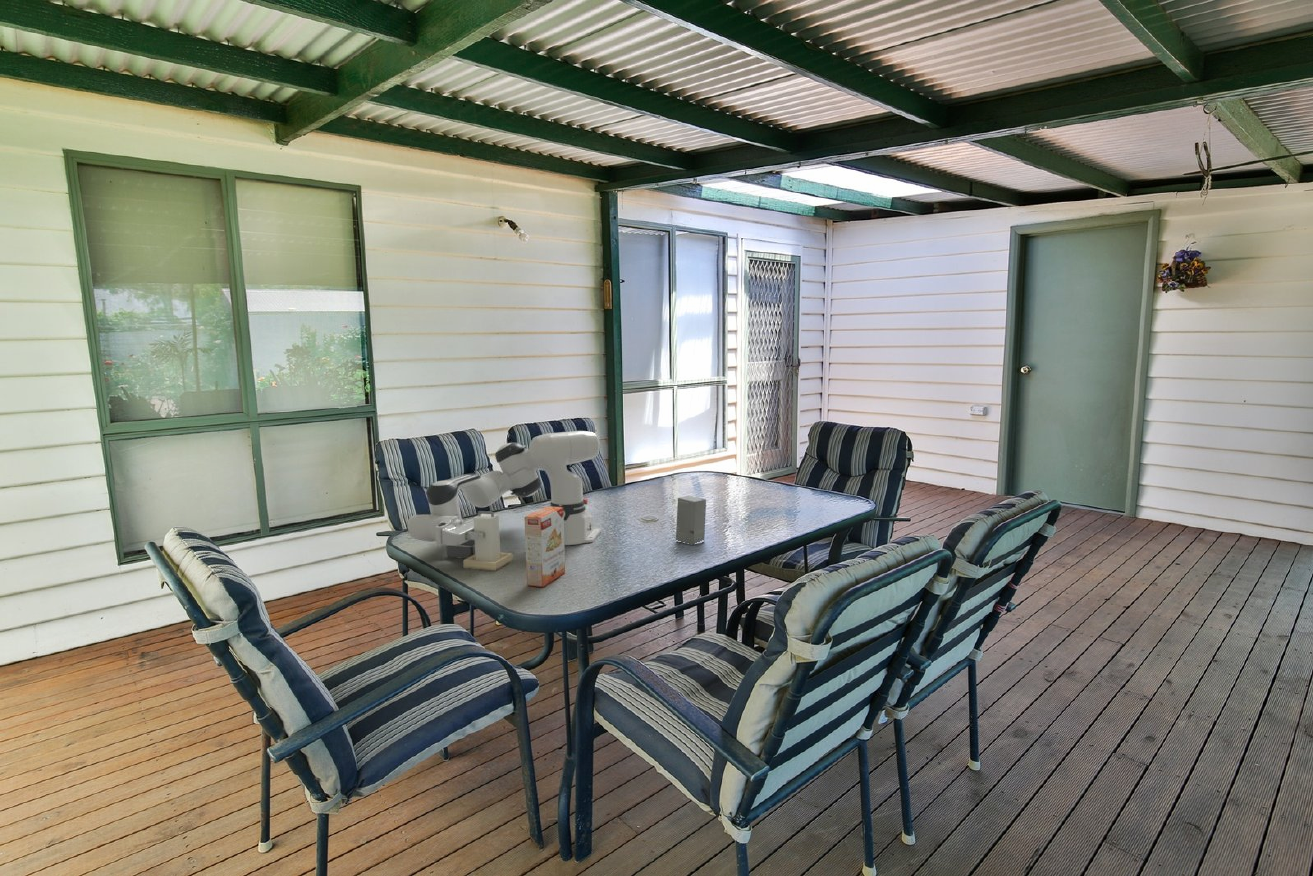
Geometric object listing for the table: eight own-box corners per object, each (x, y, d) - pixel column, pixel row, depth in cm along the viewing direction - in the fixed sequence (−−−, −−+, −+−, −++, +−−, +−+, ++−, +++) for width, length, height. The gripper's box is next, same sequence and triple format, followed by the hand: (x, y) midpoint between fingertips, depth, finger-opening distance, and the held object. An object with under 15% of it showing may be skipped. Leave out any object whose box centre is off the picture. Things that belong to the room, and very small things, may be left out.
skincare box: (675, 542, 248) (674, 497, 246) (688, 537, 253) (688, 494, 251) (694, 546, 242) (693, 501, 240) (707, 541, 248) (706, 497, 245)
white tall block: (484, 558, 230) (481, 509, 228) (500, 560, 229) (498, 510, 226) (475, 563, 226) (473, 512, 223) (492, 564, 224) (489, 514, 222)
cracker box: (544, 588, 204) (541, 517, 201) (526, 586, 206) (522, 516, 203) (566, 573, 217) (564, 506, 214) (549, 571, 219) (546, 505, 216)
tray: (482, 558, 234) (481, 550, 234) (513, 560, 230) (512, 553, 230) (463, 568, 224) (463, 560, 224) (495, 571, 220) (495, 563, 220)
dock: (462, 549, 245) (462, 538, 244) (488, 551, 241) (487, 540, 241) (447, 556, 236) (446, 545, 236) (473, 559, 233) (473, 547, 232)
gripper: (470, 530, 240) (506, 533, 236) (433, 547, 221) (472, 551, 217) (469, 512, 239) (505, 515, 235) (432, 528, 220) (471, 531, 216)
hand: (489, 532), depth 226 cm, fingers open, 5 cm apart
